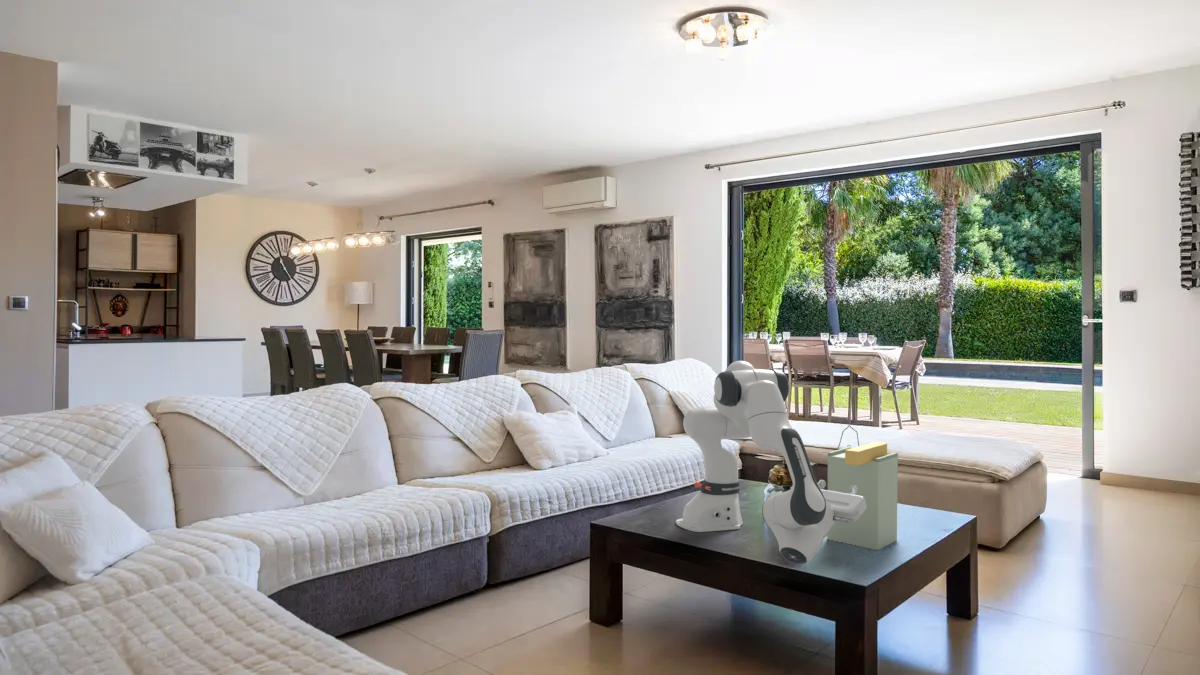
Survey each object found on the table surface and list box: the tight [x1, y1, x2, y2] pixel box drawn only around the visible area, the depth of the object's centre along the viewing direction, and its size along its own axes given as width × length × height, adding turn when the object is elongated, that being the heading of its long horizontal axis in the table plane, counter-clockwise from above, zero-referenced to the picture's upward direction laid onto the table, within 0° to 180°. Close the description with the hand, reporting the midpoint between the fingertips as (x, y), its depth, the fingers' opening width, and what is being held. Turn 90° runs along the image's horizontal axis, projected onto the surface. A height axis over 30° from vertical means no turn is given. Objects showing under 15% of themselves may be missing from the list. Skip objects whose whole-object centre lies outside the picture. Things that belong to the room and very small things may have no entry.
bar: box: [845, 441, 888, 465], centre depth 232 cm, size 20×4×4 cm, turn 137°
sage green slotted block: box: [826, 446, 899, 551], centre depth 239 cm, size 14×16×27 cm
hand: (838, 484), depth 219 cm, fingers open, 8 cm apart
